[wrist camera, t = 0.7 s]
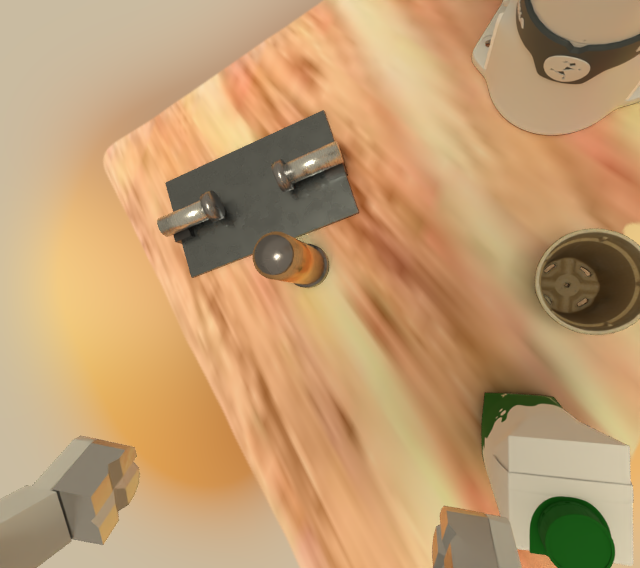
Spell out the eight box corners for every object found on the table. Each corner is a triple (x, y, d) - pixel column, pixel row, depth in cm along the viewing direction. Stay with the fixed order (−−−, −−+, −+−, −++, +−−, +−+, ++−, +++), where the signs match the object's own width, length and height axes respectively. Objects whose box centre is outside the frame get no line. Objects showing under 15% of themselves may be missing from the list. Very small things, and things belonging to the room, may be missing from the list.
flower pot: (589, 346, 45) (624, 354, 37) (502, 305, 47) (516, 304, 39) (632, 266, 44) (678, 256, 36) (542, 229, 47) (566, 211, 38)
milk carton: (476, 465, 47) (504, 573, 28) (475, 382, 48) (503, 432, 28) (564, 474, 45) (662, 599, 26) (563, 387, 45) (657, 445, 26)
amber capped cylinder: (296, 239, 54) (259, 220, 43) (335, 253, 53) (307, 237, 41) (282, 278, 54) (240, 270, 43) (319, 294, 53) (287, 289, 41)
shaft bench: (328, 110, 54) (317, 91, 49) (362, 211, 52) (355, 201, 47) (164, 185, 60) (141, 174, 55) (190, 278, 58) (168, 276, 53)
